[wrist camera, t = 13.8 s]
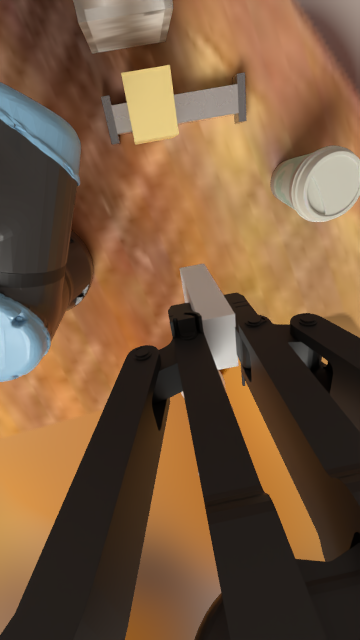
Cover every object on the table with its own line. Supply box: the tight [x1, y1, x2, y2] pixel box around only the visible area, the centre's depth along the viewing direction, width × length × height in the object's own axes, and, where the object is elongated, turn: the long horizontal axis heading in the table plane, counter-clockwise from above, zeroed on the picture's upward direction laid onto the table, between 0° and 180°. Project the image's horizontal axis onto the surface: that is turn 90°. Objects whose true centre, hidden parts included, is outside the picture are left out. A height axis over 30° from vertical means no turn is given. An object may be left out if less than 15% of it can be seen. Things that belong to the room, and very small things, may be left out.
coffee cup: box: [271, 146, 360, 222], centre depth 39 cm, size 8×9×12 cm
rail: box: [101, 73, 246, 145], centre depth 38 cm, size 18×5×2 cm, turn 99°
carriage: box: [121, 65, 179, 145], centre depth 34 cm, size 5×6×8 cm
